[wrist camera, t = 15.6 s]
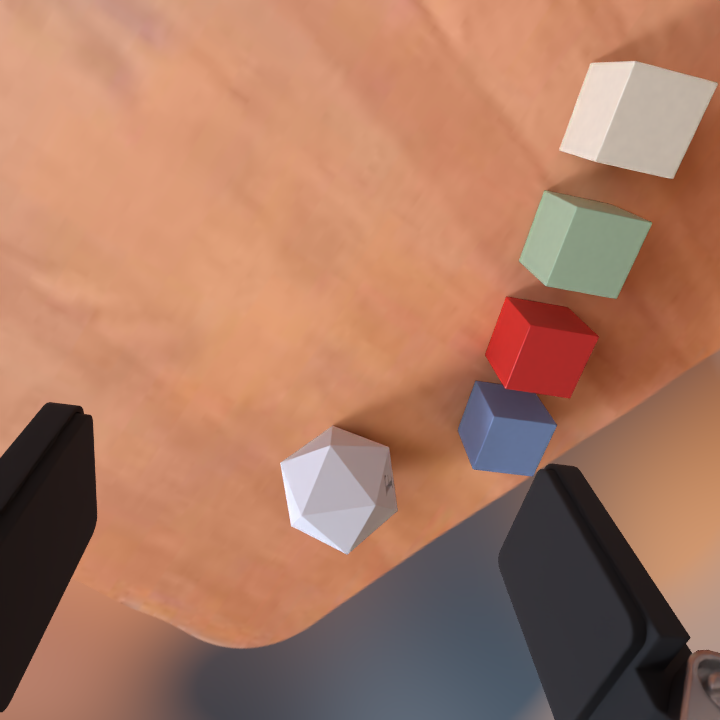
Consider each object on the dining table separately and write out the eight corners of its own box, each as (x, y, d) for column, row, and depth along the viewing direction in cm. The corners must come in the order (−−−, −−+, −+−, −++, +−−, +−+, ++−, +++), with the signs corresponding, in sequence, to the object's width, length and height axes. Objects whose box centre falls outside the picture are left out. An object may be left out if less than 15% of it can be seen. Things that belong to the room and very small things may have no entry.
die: (360, 500, 48) (431, 537, 39) (271, 537, 43) (329, 587, 34) (346, 411, 46) (417, 429, 38) (253, 439, 42) (309, 467, 33)
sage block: (544, 189, 34) (577, 206, 30) (611, 204, 35) (653, 222, 31) (518, 261, 37) (545, 286, 32) (582, 273, 37) (617, 299, 33)
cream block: (590, 62, 31) (635, 60, 26) (663, 81, 32) (719, 82, 27) (558, 150, 33) (594, 161, 29) (627, 166, 34) (673, 179, 30)
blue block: (475, 380, 41) (493, 416, 37) (532, 388, 42) (557, 425, 38) (457, 430, 44) (472, 469, 39) (512, 437, 44) (533, 476, 40)
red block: (505, 296, 38) (530, 324, 33) (568, 307, 39) (599, 336, 34) (484, 355, 40) (504, 389, 36) (543, 364, 41) (570, 398, 37)
